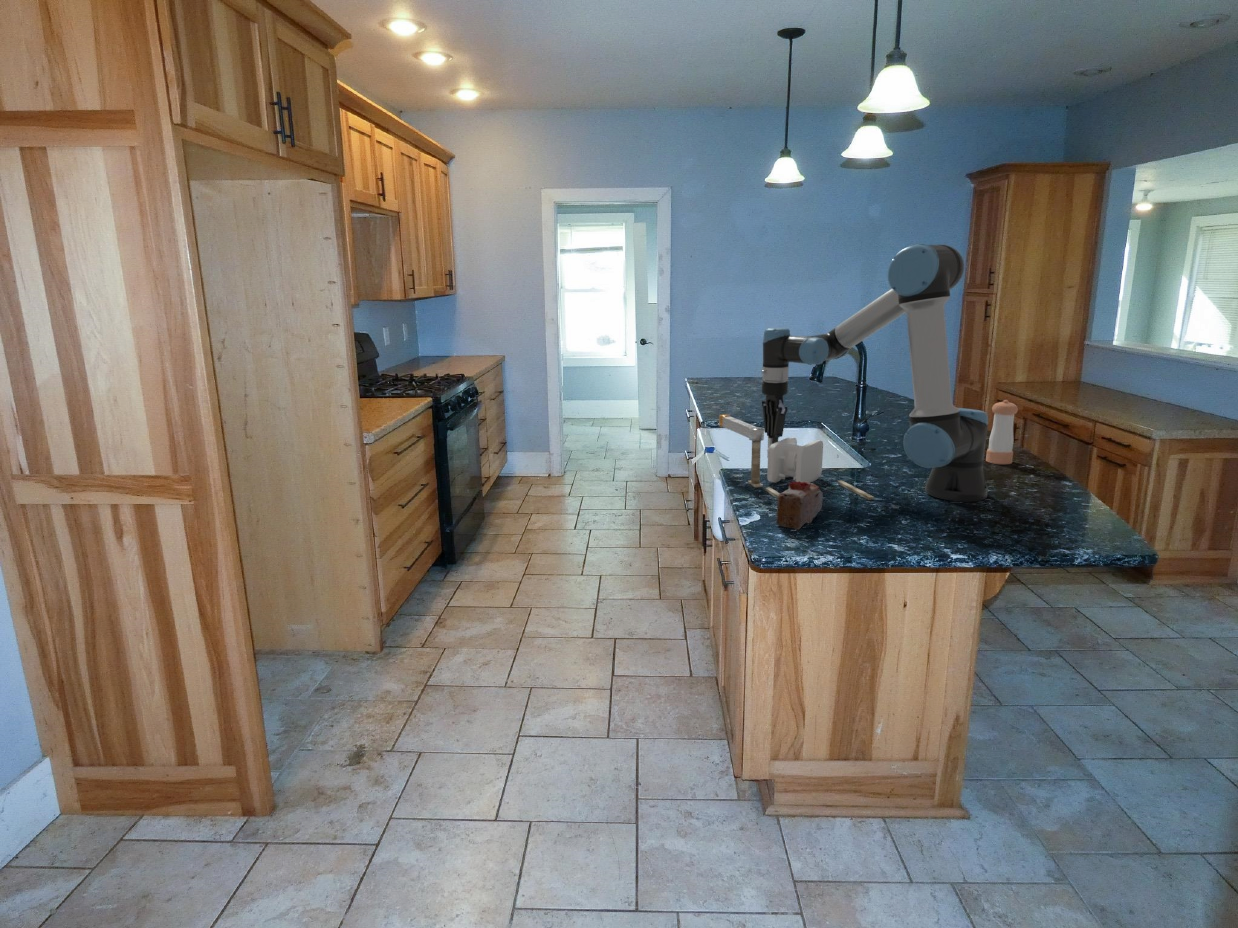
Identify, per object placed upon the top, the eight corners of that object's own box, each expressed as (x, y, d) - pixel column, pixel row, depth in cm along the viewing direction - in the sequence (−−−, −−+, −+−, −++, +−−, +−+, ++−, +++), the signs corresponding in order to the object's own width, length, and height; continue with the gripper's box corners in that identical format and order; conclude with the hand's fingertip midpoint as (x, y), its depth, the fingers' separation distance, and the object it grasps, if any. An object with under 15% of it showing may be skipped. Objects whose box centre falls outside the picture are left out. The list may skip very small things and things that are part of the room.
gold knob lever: (727, 424, 225) (728, 414, 224) (766, 440, 203) (766, 429, 202) (716, 425, 224) (716, 415, 223) (753, 441, 202) (753, 430, 201)
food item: (792, 510, 186) (794, 472, 184) (824, 515, 182) (826, 476, 179) (773, 526, 175) (774, 486, 173) (805, 531, 171) (807, 491, 168)
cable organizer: (799, 490, 202) (801, 449, 199) (764, 484, 208) (766, 444, 205) (822, 478, 213) (824, 439, 210) (788, 472, 219) (790, 434, 216)
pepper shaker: (1016, 464, 223) (1024, 402, 218) (992, 464, 223) (999, 402, 218) (1005, 458, 230) (1012, 397, 225) (981, 458, 230) (988, 398, 225)
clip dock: (873, 499, 193) (876, 452, 189) (786, 508, 187) (788, 460, 184) (826, 475, 216) (828, 432, 212) (747, 482, 210) (748, 439, 207)
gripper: (754, 378, 223) (752, 453, 229) (772, 384, 210) (770, 464, 216) (777, 377, 224) (774, 451, 230) (796, 383, 212) (793, 462, 218)
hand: (772, 457), depth 223 cm, fingers closed
